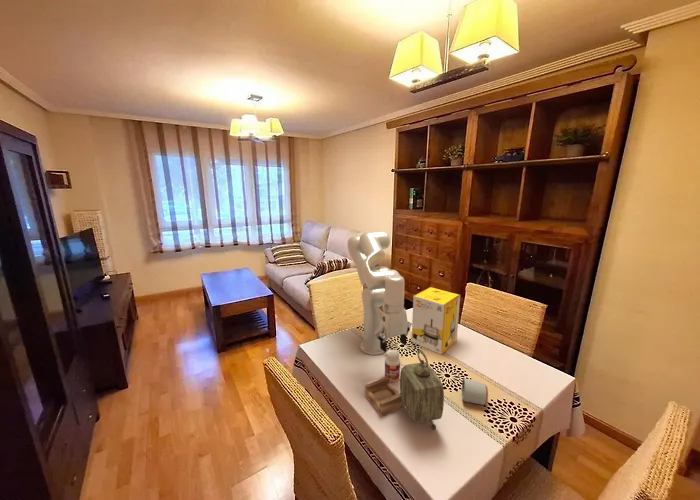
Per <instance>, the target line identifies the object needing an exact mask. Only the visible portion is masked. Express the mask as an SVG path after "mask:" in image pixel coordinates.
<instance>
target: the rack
mask: <svg viewBox="0 0 700 500" xmlns="http://www.w3.org/2000/svg"><path fill="white" fill-rule="evenodd" d="M364 389H365V392H364V393H365V394H364V395H365V397H366V399H369V400H368V401H369V402H370V403H371V405H372V406H373V407H374V408H375V410H376V409H377V410H376V411H377V412H378V414H380V415H381V417H384V416H386V415H387V414H389V413H392V412H394V411H396V410H398V409H400V408H402V407H405V405H404V403H403V401H402V399H401V396H400V391H398V390H397V389H396V388H395V387H394V386H393V385H392V384H391V382H390V379H389V378H388V377H385V376H384V377H382V378H379V379H377V380H375V381H372V382H369V383H367V384H365V388H364Z"/></svg>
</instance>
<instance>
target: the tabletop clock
mask: <svg viewBox="0 0 700 500" xmlns="http://www.w3.org/2000/svg"><path fill="white" fill-rule="evenodd" d="M416 353H417V359H418V360H419V362H416V363H409V364H405V365H404V366H403V367H402V368H400V377H399V393H400V396H401V399H402V401H403V403H404V405H405V406H404V407H405V409H406V411H407V412H408V415H409V416H410V418H411V420H413V421H415V422H417V423H419V424H421V423H424V422H429V423H430V425H431V426H430V427H431V429H432V430H433V431H435V430H436V429H437V425H436V424H434V423H433V421H437V420H440V419H442V418H443V417H442V416H443V412H444V404H445V402H444V401H445V392H444V385H443V383H442V380H441V379H440V378H439V376H438V374H437V373H436V372H435V370H434V369H433V368H432V367H431V366H430V364H429V362H428V358H427V355H426V354H425V353H424V351H422V350H421V349H418V350H417V352H416ZM420 354H421V355H422V356H423V358H424V359H425V360H424V359H421V357H420Z"/></svg>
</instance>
